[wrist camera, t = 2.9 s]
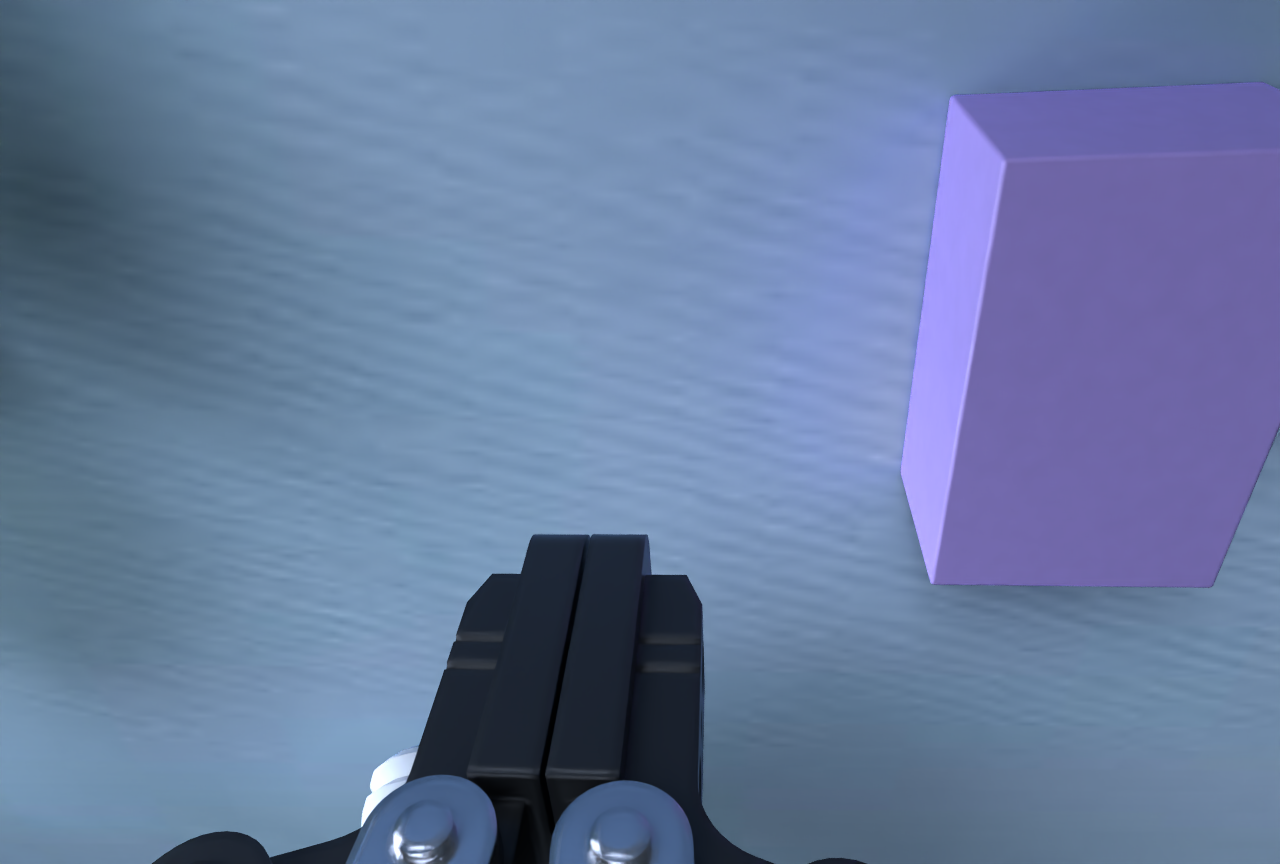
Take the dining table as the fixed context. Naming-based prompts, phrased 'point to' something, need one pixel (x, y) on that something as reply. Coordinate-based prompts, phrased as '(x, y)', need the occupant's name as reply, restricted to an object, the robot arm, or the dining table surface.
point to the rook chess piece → (389, 778)
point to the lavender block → (1097, 335)
